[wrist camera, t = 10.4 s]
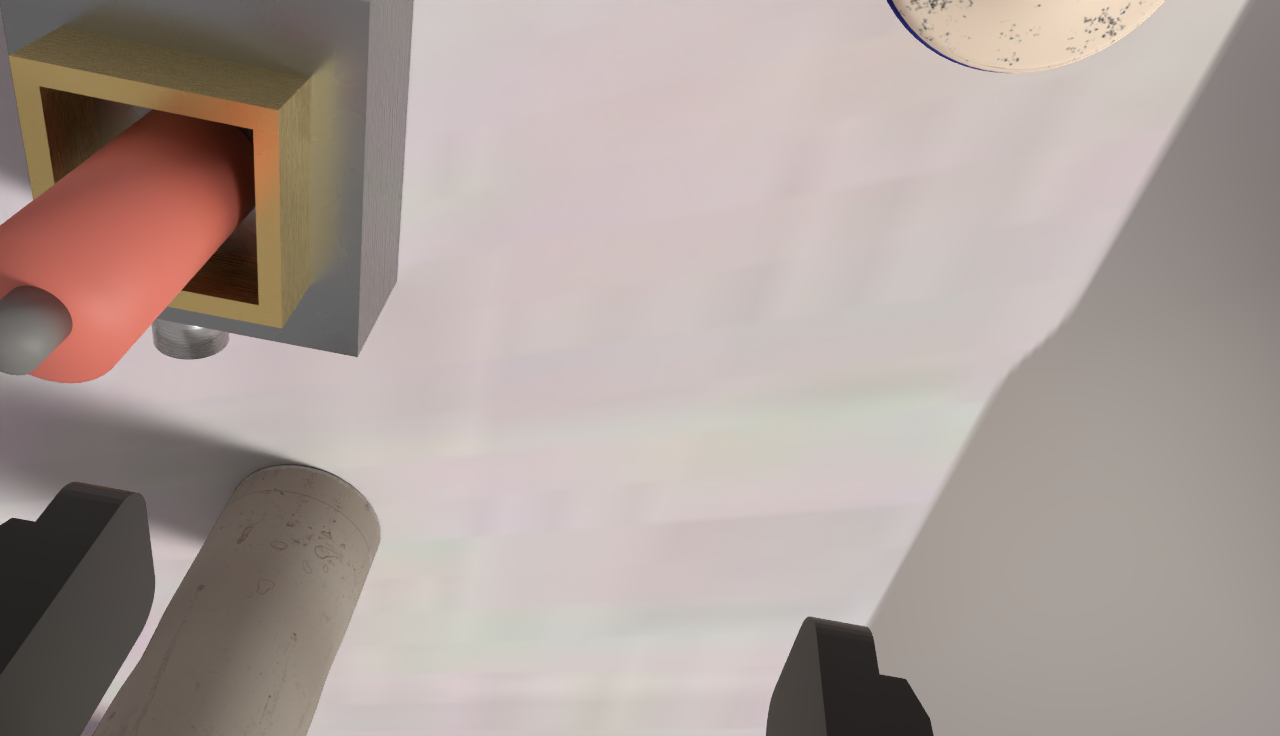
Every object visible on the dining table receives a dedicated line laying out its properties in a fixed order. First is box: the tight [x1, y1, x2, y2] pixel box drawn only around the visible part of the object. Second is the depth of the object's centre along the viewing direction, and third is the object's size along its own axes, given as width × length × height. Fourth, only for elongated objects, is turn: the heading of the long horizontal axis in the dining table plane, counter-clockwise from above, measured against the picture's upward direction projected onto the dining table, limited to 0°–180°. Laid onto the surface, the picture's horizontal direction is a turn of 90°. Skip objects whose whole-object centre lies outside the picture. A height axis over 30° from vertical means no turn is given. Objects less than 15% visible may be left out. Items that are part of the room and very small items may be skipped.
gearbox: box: [0, 0, 413, 359], centre depth 38 cm, size 17×12×9 cm
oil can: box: [0, 109, 256, 383], centre depth 31 cm, size 5×5×12 cm
